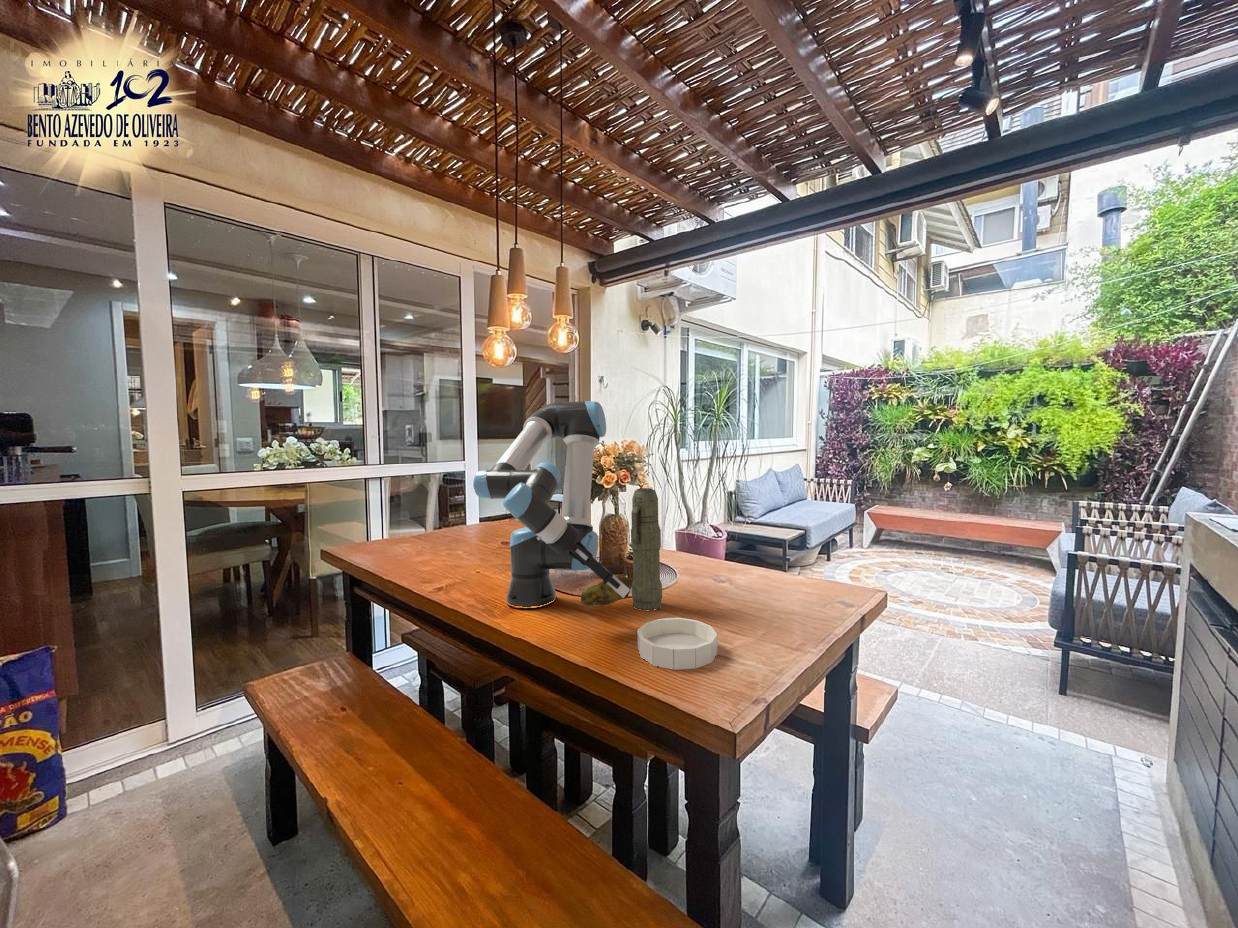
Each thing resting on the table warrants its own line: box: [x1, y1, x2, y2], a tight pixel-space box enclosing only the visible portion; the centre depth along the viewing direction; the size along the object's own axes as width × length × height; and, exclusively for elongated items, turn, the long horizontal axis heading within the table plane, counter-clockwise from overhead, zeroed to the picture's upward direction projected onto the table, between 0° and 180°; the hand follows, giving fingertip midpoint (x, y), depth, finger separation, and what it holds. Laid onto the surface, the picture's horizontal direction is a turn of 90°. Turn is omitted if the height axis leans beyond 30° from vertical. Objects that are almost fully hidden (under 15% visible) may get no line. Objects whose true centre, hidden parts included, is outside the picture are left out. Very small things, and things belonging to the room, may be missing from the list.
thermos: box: [630, 487, 663, 611], centre depth 144 cm, size 9×12×35 cm
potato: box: [580, 574, 633, 607], centre depth 127 cm, size 8×13×8 cm, turn 69°
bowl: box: [636, 617, 718, 671], centre depth 114 cm, size 18×18×4 cm
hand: (620, 588), depth 127 cm, fingers closed on potato, 7 cm apart
